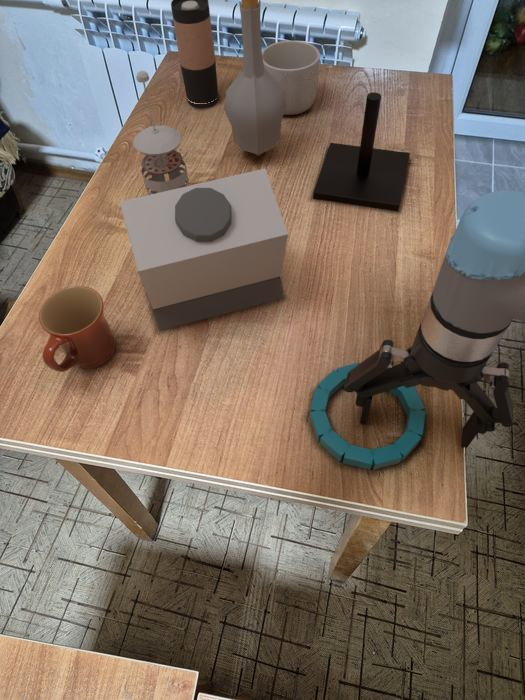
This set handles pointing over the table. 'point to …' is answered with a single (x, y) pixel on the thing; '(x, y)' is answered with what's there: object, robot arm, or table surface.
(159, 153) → the french press
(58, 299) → the mug
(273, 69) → the planter
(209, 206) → the alarm clock
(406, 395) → the ring
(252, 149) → the bottle
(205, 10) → the travel mug
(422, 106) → the table surface
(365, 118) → the post
